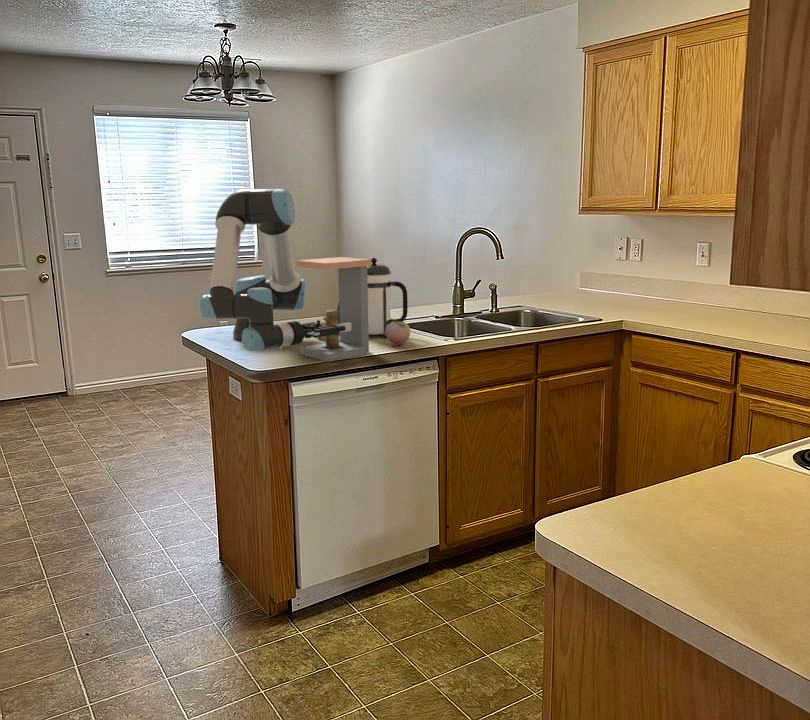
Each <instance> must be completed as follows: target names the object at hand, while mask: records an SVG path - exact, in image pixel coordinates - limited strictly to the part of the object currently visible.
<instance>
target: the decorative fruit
mask: <svg viewBox="0 0 810 720" xmlns="http://www.w3.org/2000/svg"><path fill="white" fill-rule="evenodd" d="M396 319H397V321H391V322H390V324H388V325H387V327H386V329H385V333H386V336H387V338H386V339H388V340H389V342H390V343H391V344H393V345H395V346H396V347H398V346H399V347H400V346H401V345H404V344H405V343H406V342H407V341H408V339H409V338H410V336H411V327H410V326H409V324H408V323H406V322H405V321H403V322H399V321H398V319H399V318H396Z"/></svg>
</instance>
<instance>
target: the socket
mask: <svg viewBox="0 0 810 720" xmlns="http://www.w3.org/2000/svg"><path fill="white" fill-rule="evenodd" d="M295 263H296V265H295V266H296V267H297V268H305V269H315V270H325V271H328V270H337V274H338V276H337V277H338V302H339V317H340V324H344V323H351V330H352V331H346V332H340V333H339V348H338V349H333V350H330V349H326V342H322V343H317V344H311V345H307V346H299V355H300V354H301V355H300V356H304V355H305V357H308V356H309V358H313V359H316V360H320V361H324V362H333V361H338V360H339V361H340V360H343V359H349V358H355V357H359V356H365V355H367V354H368V353H370V349H369V348H370V347H369V343H370V340H369V338H370V337H369V335H370V334H368V281H367V266H371V264H372V262H371V259H367V258H357V257H356V258H355V257H344V256H338V257H327V258H312V259H299V260H298V259H297V260H296V261H295Z"/></svg>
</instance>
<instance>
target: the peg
mask: <svg viewBox="0 0 810 720" xmlns="http://www.w3.org/2000/svg"><path fill="white" fill-rule="evenodd" d="M324 317H325V320H324V322H326V326H335V325H337V324H339V319H338V310H336V309H328V310H325V311H324ZM339 342H340V333H339V334H338V335H337V336H336V335H330V336H326V340H325V343H326V349H330V350H333V349H338V348H339Z"/></svg>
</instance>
